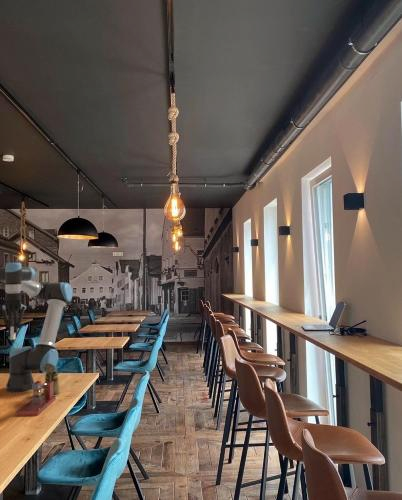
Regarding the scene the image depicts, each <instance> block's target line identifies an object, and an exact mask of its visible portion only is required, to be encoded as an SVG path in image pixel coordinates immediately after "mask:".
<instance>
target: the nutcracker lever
mask: <svg viewBox="0 0 402 500" xmlns="http://www.w3.org/2000/svg"><path fill="white" fill-rule="evenodd" d="M38 388H40V389H41V390H42V389H43V390H44V389H46V384H45V383H41V384H40V385H38V384H23V385H22V390H26V391H29V390H31V391H33V390H34V389H38Z"/></svg>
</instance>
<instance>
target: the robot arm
mask: <svg viewBox="0 0 402 500" xmlns="http://www.w3.org/2000/svg"><path fill="white" fill-rule="evenodd" d="M35 277H36V270H35V269H34V268H33V267H31V266H23V265H22V263H21V262H6V264H5V266H1V267H0V282H2V283H4V284H5V289H4V290H5V291H4V292H5V294H4V295H5V298H4V301H5V302H4V304H3V305H1V306H0V311H1V314H2V318H3V322H4V326H7V327H8V334H9V333H10V335H9V336H10V338H9V339H10V341H13V340H16V334H17V333H18V327H19V326H21V325H22V322H23V318H24V314H25V310H26V309H27V308H28V307H27V305H24V304H23V302H22V293H21V292H24V293H26V295H27V296H29V297H31V298H33V299H36V300H38V301H41V302H46V303H47V304H48V307H47V309H46V315H45V319H44V322H43V327H42V330H41V334H40V338H39V342H37V343H36V344H35V346H34V349H33V348H32V346H30V345H29V346H23V347H22V346H21V347H17V348H13V349H11V350H10V352H9V358H8V359H9V377H8V380H7V382H6V386H5V391H7V392H9V393H10V392H13V393H14V392H15V393H16V392H17V393H18V392H23V391H27V390H22V385H23V384H34V383H35V380H34V377H33V373H32V371H42V372H45V371H44V366H45V365H46V364H48V363H49V364H52V365H54V366H55V367H56V365H57V364H58V361H59V352H58V350H57V347H56V345H55V344H56V339H57V335H58V331H59V327H60V323H61V319H62V314H63V310H64V308H65V307H66V306H67V305H68V302H71V300H72V299H73V289H72V286H71V284H70V283H68V282H63V281H62V282H39V281H35V280H34V279H35ZM33 280H34V281H33ZM19 310H20V311H19Z"/></svg>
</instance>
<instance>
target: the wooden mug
mask: <svg viewBox="0 0 402 500" xmlns="http://www.w3.org/2000/svg"><path fill="white" fill-rule="evenodd" d="M43 372H45V378H44V379H45V380H44V384H46V383H47V382H49V381H53V396H57V395H59V394H60V393H61V390H60V384H59V383H60V381H59V373H58V371H56V366H54V365H52V364H49V363H48V364H46V365H45V366H44V371H43ZM42 395H43V396H46V389H43V392H42Z"/></svg>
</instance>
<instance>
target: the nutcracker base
mask: <svg viewBox="0 0 402 500" xmlns="http://www.w3.org/2000/svg"><path fill="white" fill-rule="evenodd" d="M34 384H38V385H40V384H42V381H41V380H37V381H34ZM32 392H33V394H32V395H33V396H32V397H31V399H30V400H29V401H28V402H26V404H24V405H23V406H21V407H20V408H19V409H18V410H16V415H15V416H16V417H17V416H18V417H21V416H22V417H24V416H25V417H27V416H31V417H33V416H34V417H35V416H39V415H40V414H41V413H43V412H44V411H45V410H46V409H47V408H48V407H49V406H50V405H51V404H53V403H54V402H55V401H56V399H57V395H53V381H49V382H47V383H46V395H43V394H42V389H40V388H38V389H34V390H32Z"/></svg>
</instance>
